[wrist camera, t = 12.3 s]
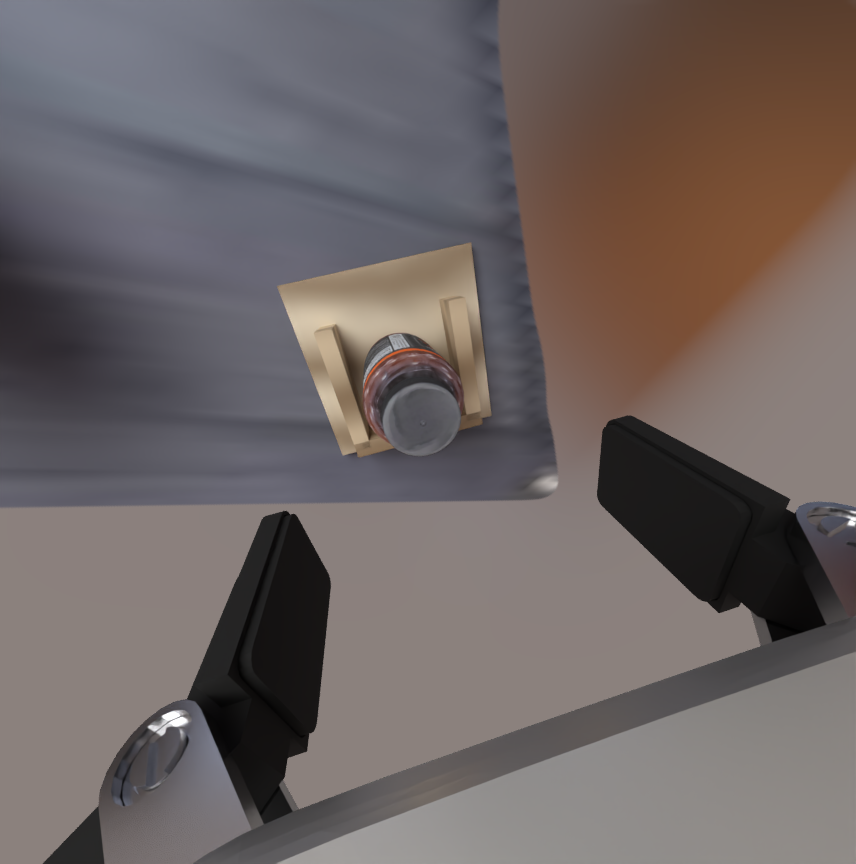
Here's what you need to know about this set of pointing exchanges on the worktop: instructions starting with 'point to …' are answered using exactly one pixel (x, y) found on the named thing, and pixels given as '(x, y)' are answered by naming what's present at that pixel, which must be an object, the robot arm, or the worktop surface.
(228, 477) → the worktop surface
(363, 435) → the cradle
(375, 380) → the supplement bottle
